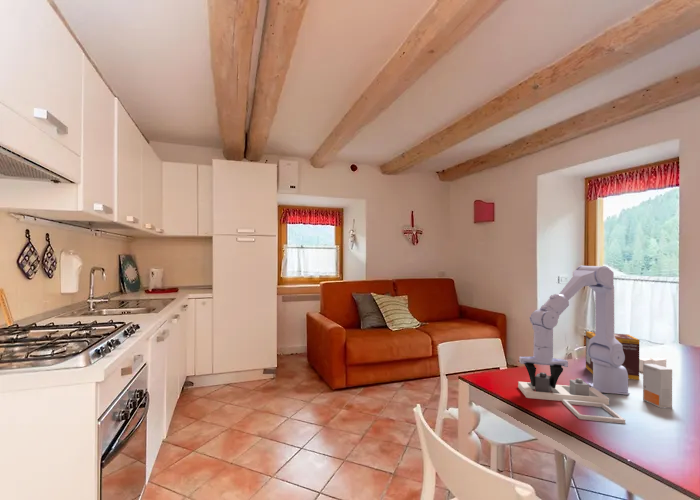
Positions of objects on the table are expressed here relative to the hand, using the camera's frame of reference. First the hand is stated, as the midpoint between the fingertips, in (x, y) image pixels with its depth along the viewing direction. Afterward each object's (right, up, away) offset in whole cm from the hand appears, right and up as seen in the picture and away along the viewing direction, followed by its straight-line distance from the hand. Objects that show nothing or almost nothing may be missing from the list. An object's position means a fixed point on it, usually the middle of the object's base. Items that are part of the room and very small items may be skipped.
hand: (543, 386), depth 117 cm
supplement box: (+41, -4, +23) cm, 47 cm away
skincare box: (+33, -3, -7) cm, 34 cm away
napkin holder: (+61, -5, +29) cm, 68 cm away
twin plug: (+11, -3, -2) cm, 11 cm away
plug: (0, -2, 0) cm, 2 cm away
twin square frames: (+5, -3, -1) cm, 6 cm away
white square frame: (+7, -2, -14) cm, 16 cm away
